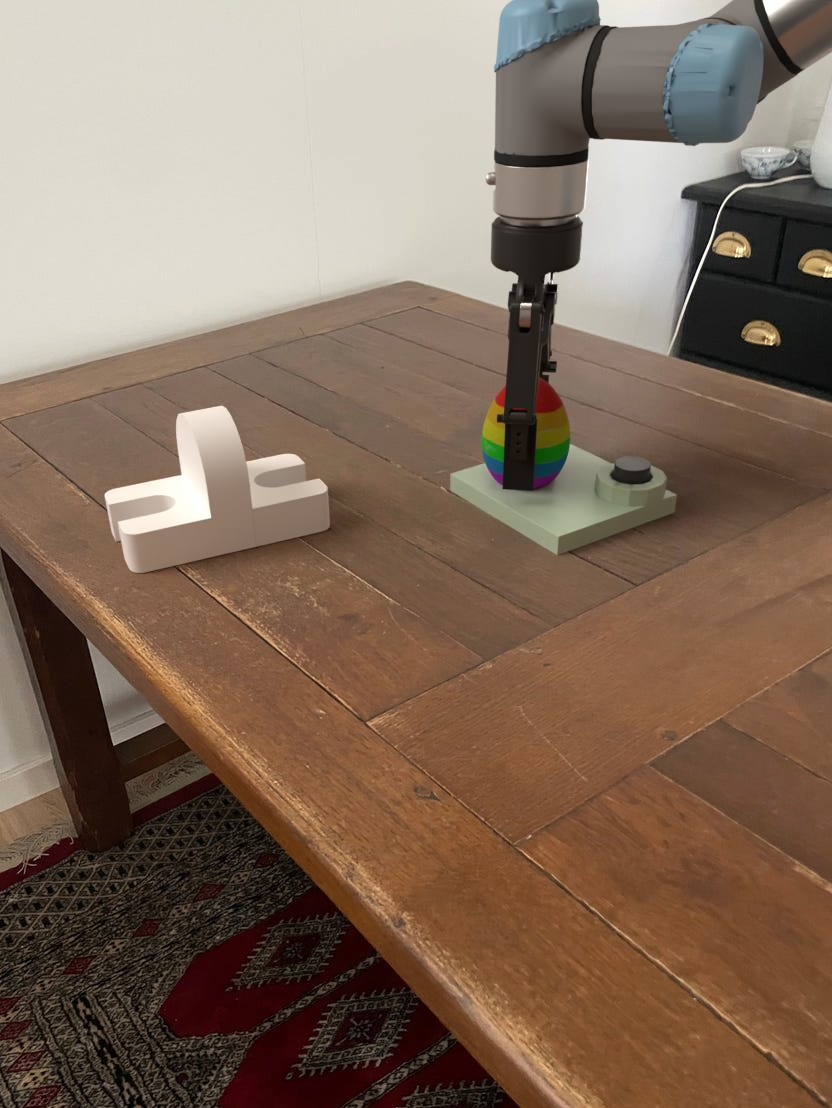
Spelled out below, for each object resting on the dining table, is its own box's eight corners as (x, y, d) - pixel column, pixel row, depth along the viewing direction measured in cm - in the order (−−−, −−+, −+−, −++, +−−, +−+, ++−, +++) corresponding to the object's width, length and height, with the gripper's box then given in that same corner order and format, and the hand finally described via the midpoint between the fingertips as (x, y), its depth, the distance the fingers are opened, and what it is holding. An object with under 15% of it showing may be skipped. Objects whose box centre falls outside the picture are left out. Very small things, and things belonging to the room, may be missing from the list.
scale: (675, 513, 95) (680, 478, 93) (557, 556, 89) (560, 520, 87) (560, 456, 106) (563, 424, 104) (449, 491, 101) (450, 458, 99)
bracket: (296, 487, 103) (287, 376, 97) (334, 528, 95) (326, 411, 89) (109, 527, 97) (86, 413, 91) (132, 575, 89) (109, 453, 83)
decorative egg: (483, 497, 95) (486, 393, 89) (478, 461, 101) (481, 362, 96) (572, 496, 94) (580, 391, 89) (561, 459, 101) (569, 360, 95)
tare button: (656, 480, 93) (658, 464, 92) (630, 489, 92) (632, 473, 91) (631, 468, 96) (633, 453, 95) (605, 477, 94) (607, 461, 93)
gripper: (508, 189, 95) (500, 415, 107) (471, 249, 76) (466, 514, 89) (591, 188, 93) (573, 419, 105) (573, 250, 75) (554, 520, 87)
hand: (524, 462), depth 97 cm, fingers open, 11 cm apart
